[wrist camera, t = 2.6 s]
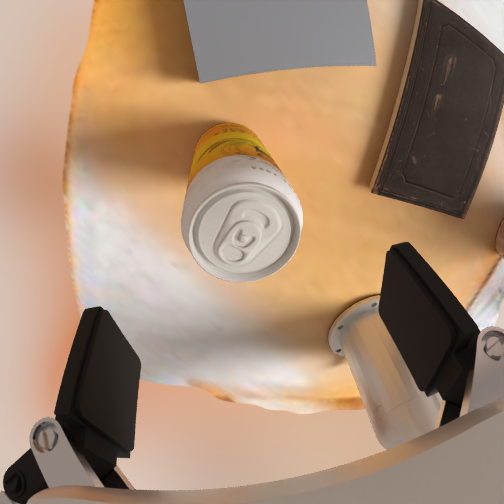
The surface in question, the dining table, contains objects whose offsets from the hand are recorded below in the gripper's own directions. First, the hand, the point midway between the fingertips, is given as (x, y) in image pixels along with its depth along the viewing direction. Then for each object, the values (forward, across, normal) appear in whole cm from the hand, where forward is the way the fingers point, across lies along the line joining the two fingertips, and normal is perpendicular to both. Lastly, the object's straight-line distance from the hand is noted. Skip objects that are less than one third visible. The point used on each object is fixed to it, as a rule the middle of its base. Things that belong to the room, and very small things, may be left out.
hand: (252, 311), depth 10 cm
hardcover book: (+21, -25, -1) cm, 33 cm away
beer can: (+20, 0, +1) cm, 20 cm away
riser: (+20, -6, -13) cm, 25 cm away
